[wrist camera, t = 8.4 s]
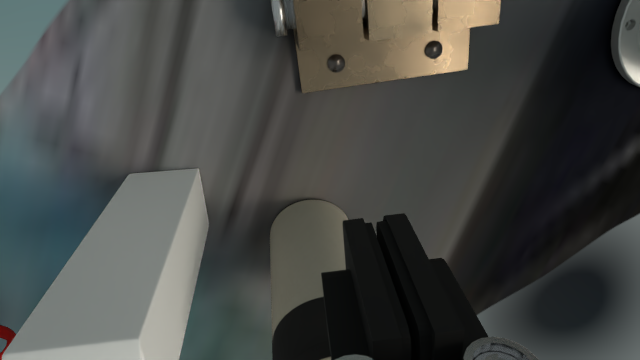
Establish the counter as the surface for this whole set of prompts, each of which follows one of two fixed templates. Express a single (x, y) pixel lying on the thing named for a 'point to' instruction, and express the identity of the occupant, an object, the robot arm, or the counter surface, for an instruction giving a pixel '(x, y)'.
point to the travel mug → (303, 277)
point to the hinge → (384, 39)
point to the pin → (292, 15)
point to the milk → (125, 277)
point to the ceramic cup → (6, 337)
